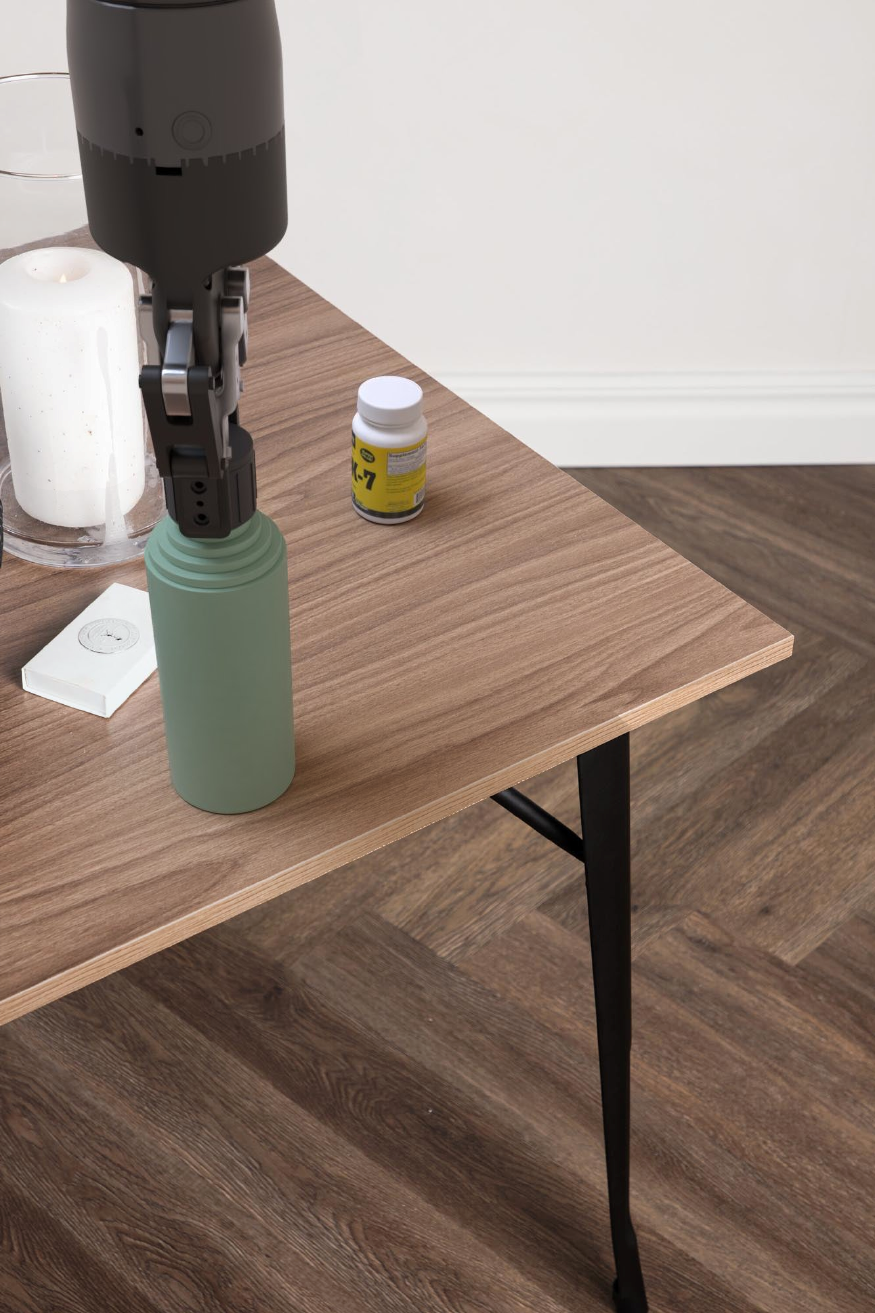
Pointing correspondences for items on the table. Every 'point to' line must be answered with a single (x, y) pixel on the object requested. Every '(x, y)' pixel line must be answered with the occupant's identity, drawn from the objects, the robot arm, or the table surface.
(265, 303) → the table surface
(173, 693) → the water bottle
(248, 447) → the cap
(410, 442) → the supplement bottle
